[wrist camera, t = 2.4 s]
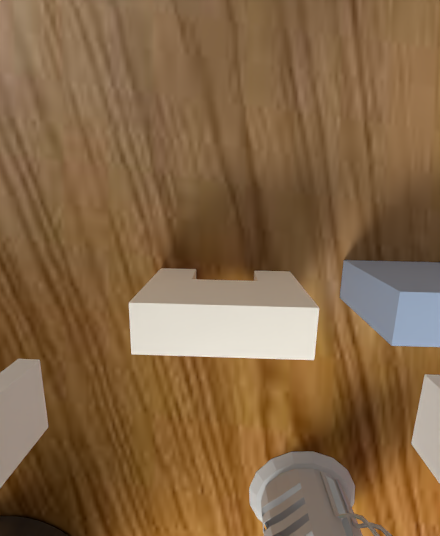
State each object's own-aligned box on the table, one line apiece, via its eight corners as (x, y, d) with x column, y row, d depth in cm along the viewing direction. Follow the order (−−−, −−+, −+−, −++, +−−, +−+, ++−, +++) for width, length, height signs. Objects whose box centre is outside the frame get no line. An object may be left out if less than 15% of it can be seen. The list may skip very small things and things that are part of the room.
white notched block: (161, 304, 25) (131, 354, 17) (161, 268, 24) (128, 302, 16) (287, 308, 25) (314, 360, 17) (290, 271, 24) (319, 307, 16)
